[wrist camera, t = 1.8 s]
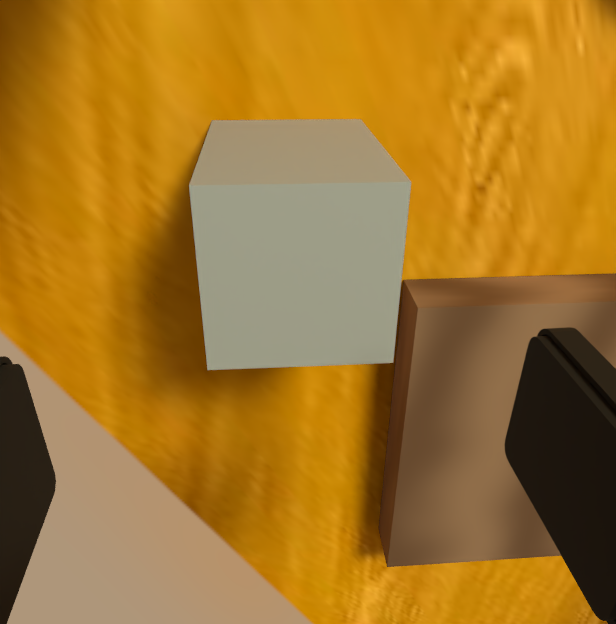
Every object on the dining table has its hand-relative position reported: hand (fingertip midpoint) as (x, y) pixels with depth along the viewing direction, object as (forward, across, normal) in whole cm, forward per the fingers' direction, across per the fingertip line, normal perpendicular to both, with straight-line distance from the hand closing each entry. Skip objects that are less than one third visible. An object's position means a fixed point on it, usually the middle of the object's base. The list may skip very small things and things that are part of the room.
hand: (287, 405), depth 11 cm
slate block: (+13, -1, 0) cm, 13 cm away
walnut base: (+13, -14, +12) cm, 23 cm away
